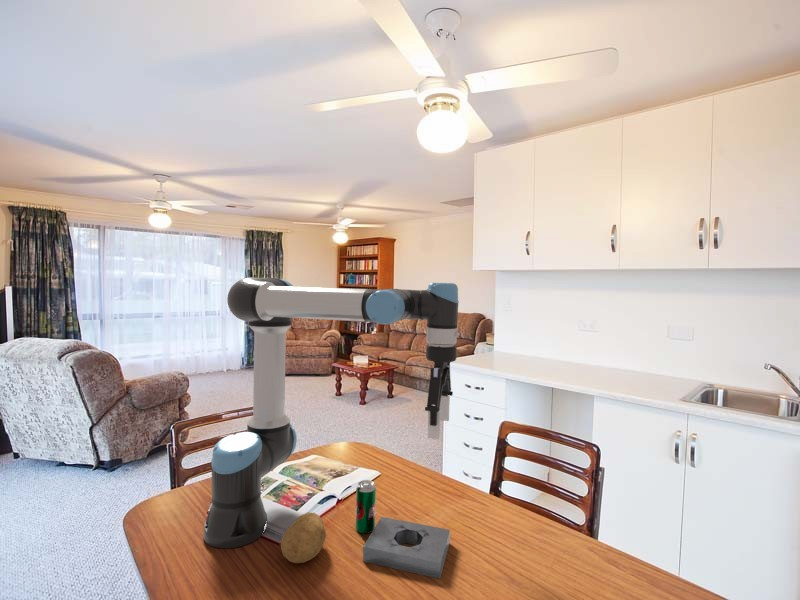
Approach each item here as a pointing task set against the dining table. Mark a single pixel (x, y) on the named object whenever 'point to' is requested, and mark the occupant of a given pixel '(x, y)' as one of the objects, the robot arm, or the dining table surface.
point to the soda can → (365, 506)
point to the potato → (303, 538)
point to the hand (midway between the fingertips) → (438, 428)
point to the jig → (416, 559)
